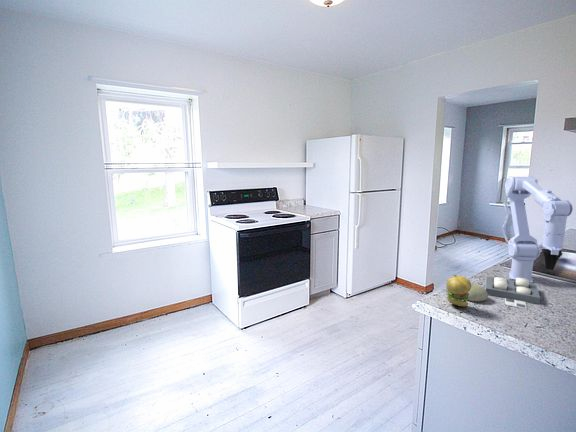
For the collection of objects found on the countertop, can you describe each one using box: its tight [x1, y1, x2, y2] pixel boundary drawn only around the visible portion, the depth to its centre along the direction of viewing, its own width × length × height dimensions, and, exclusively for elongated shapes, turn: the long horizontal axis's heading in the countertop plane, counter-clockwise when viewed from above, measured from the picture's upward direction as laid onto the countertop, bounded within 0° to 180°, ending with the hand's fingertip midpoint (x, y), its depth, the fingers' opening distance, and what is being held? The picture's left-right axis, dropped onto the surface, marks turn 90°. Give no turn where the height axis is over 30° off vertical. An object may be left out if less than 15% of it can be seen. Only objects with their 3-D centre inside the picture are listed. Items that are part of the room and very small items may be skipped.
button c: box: [515, 278, 531, 288], centre depth 120 cm, size 4×4×3 cm
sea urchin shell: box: [467, 283, 489, 303], centre depth 115 cm, size 9×8×8 cm
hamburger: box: [446, 274, 472, 308], centre depth 107 cm, size 8×7×12 cm
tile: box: [504, 298, 528, 310], centre depth 110 cm, size 6×6×1 cm
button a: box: [494, 276, 508, 282], centre depth 124 cm, size 4×4×3 cm
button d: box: [516, 286, 531, 295], centre depth 115 cm, size 4×4×3 cm
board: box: [485, 276, 541, 305], centre depth 120 cm, size 15×16×2 cm
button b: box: [494, 280, 508, 291], centre depth 118 cm, size 4×4×3 cm
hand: (549, 269), depth 116 cm, fingers closed
